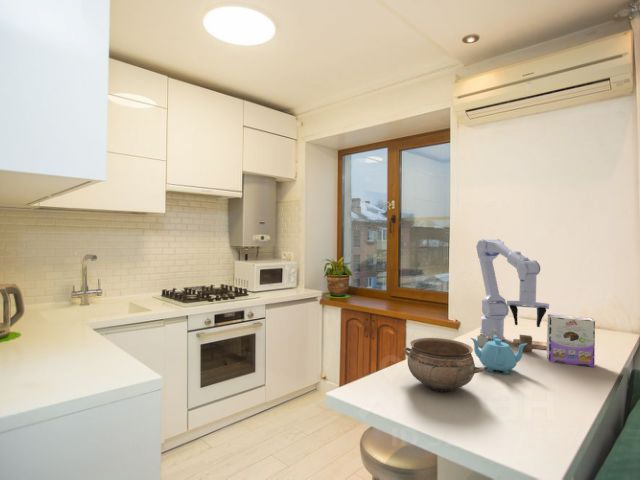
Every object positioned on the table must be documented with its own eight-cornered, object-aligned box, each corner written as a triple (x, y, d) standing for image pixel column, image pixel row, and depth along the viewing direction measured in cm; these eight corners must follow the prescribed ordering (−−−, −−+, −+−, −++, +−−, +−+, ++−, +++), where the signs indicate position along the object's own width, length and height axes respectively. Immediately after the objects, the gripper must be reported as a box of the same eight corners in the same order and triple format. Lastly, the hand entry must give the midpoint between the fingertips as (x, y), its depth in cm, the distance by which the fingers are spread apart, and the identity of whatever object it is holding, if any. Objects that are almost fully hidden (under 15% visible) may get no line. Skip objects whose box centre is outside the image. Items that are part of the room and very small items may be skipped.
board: (515, 346, 154) (515, 342, 154) (513, 342, 160) (513, 338, 160) (557, 350, 149) (557, 346, 149) (554, 346, 155) (554, 343, 154)
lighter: (477, 345, 154) (477, 326, 154) (478, 345, 155) (479, 325, 155) (495, 349, 149) (495, 329, 149) (496, 348, 150) (497, 329, 150)
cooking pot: (386, 383, 113) (386, 342, 113) (419, 368, 126) (420, 332, 126) (467, 412, 95) (468, 364, 95) (496, 391, 108) (497, 349, 108)
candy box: (590, 362, 135) (591, 317, 135) (594, 367, 130) (595, 320, 130) (546, 356, 141) (547, 313, 141) (548, 361, 136) (549, 316, 136)
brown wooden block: (520, 351, 147) (520, 336, 147) (517, 345, 155) (517, 331, 155) (531, 353, 146) (532, 337, 146) (528, 347, 153) (528, 332, 153)
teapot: (499, 378, 118) (499, 346, 118) (467, 365, 130) (467, 336, 130) (527, 373, 123) (528, 342, 123) (494, 360, 136) (494, 332, 135)
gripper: (508, 291, 147) (507, 325, 147) (551, 293, 142) (550, 329, 142) (506, 289, 153) (505, 322, 153) (547, 291, 148) (546, 325, 148)
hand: (526, 325), depth 148 cm, fingers open, 7 cm apart
